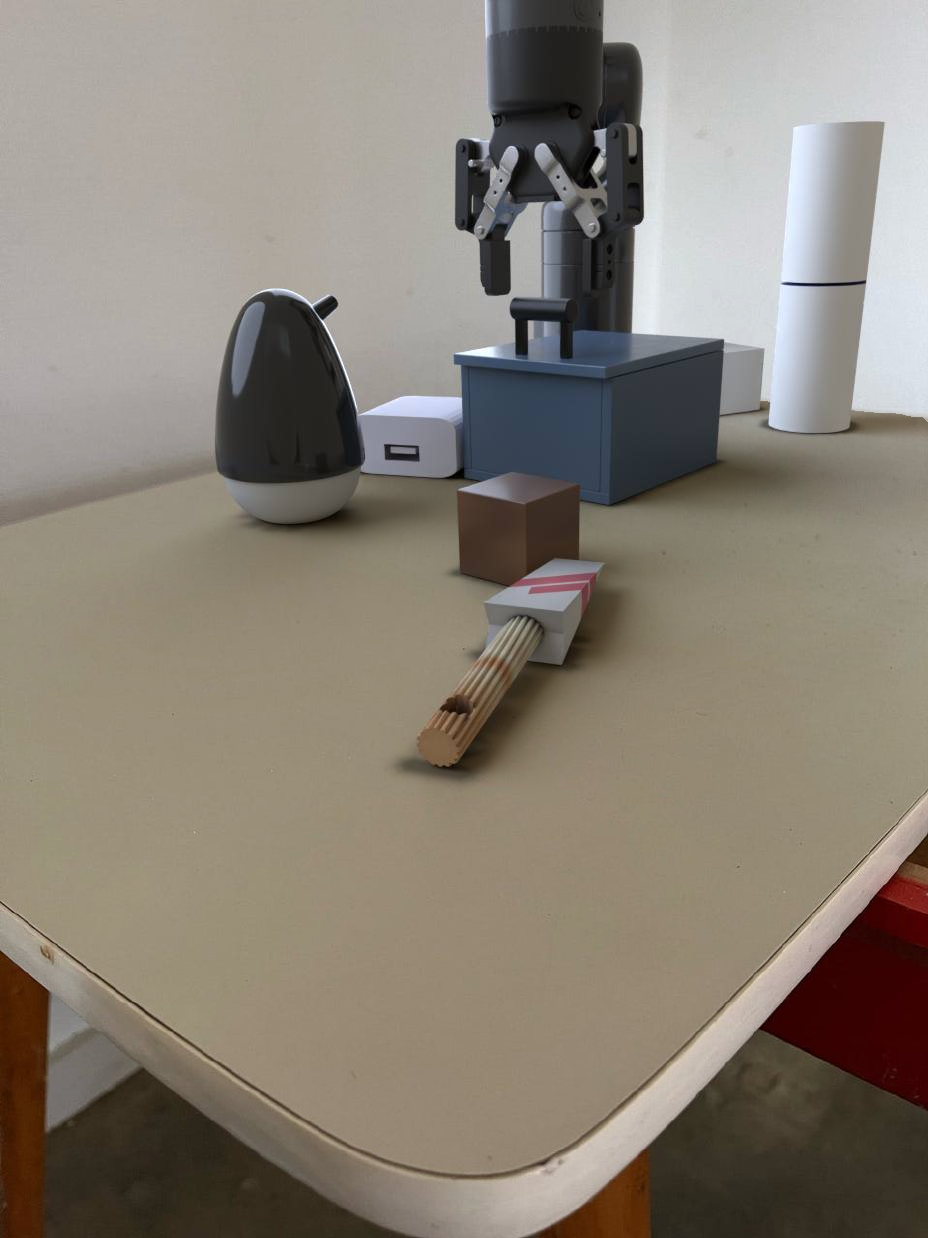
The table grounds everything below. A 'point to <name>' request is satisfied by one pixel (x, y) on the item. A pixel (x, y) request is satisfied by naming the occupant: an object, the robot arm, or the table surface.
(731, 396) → the white cube
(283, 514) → the pump dispenser
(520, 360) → the lid
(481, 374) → the blue storage bin
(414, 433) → the charger
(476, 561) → the block
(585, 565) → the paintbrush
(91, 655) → the table surface
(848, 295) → the cylindrical container
